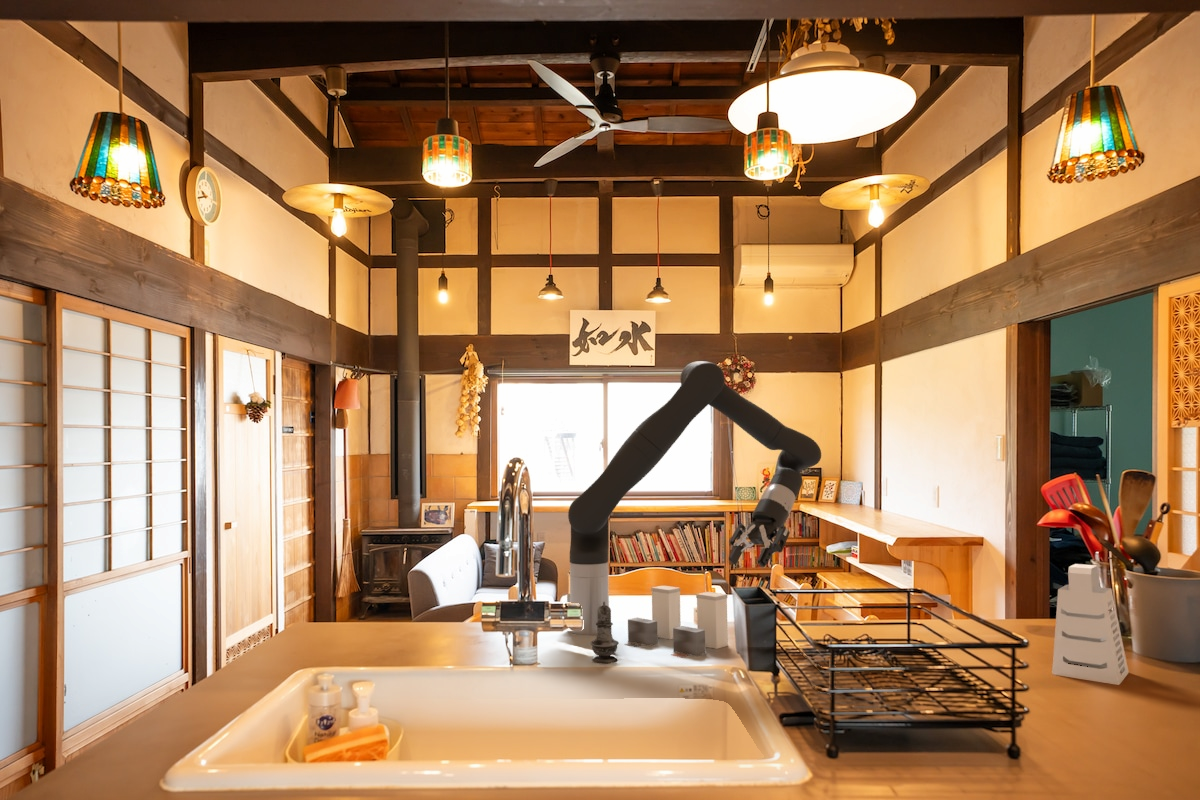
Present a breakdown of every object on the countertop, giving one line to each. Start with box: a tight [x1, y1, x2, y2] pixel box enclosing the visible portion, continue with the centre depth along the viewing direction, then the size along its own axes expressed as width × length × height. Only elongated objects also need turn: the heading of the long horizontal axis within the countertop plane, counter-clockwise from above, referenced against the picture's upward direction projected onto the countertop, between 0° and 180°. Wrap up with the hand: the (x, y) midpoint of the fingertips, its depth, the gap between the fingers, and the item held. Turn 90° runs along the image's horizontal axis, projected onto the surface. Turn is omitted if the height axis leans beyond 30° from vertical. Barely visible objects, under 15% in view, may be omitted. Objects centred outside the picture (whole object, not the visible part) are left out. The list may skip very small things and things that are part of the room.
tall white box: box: [695, 591, 729, 650], centre depth 160 cm, size 5×4×11 cm
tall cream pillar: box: [650, 585, 682, 640], centre depth 170 cm, size 5×4×11 cm
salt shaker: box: [590, 602, 620, 665], centre depth 154 cm, size 6×6×12 cm
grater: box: [1051, 563, 1130, 686], centre depth 141 cm, size 10×10×20 cm
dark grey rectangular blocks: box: [624, 617, 706, 658], centre depth 163 cm, size 25×20×6 cm
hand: (745, 563), depth 168 cm, fingers open, 8 cm apart
